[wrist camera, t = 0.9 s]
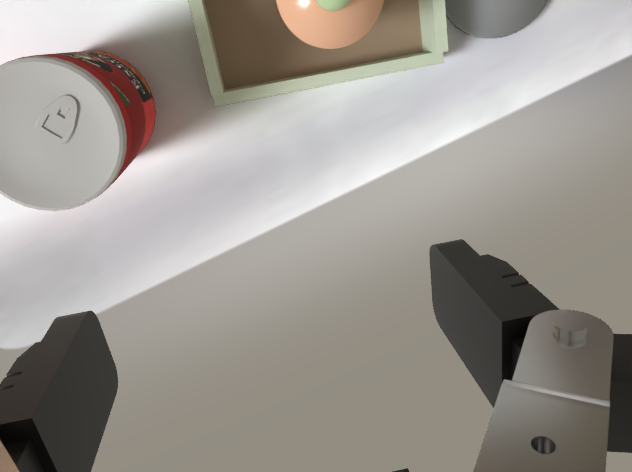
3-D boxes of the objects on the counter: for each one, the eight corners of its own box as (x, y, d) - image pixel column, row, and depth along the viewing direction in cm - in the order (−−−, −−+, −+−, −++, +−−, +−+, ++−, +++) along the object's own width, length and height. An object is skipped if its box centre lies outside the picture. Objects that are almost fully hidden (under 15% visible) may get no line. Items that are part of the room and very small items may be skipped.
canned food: (170, 72, 36) (140, 87, 26) (142, 178, 38) (105, 230, 28) (54, 32, 34) (-27, 30, 24) (33, 145, 37) (-49, 188, 26)
